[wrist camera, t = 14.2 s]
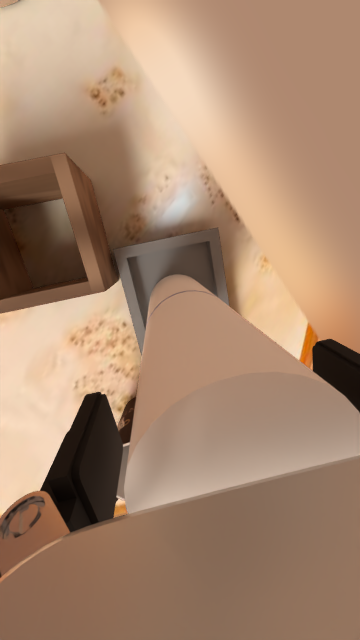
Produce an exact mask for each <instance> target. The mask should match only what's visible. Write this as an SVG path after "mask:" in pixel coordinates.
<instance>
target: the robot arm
mask: <svg viewBox="0 0 360 640" xmlns="http://www.w3.org/2000/svg"><path fill="white" fill-rule="evenodd" d="M17 1H19V0H0V7H5V6H8V5H10V4H13V3H15V2H17ZM312 351H313V372H314V373H316V374H317V375H318V376H320V377H321V378H322V379H323V380H325V381H326V382H327V383H329V384H330V385H331V386H333V387H334V388H335V389H336V390H338V391H339V392H340V393H342V394H343V395H344V396H345V397H346V398H347V399H348V400H349V401H350V402H351V403H352V404H353V406H354V407H355V408H356V409H357V410H358V411H359V413H360V354H359V353H357V352H355V351H353V350H351V349H349V348H347V347H346V346H344V345H342V344H340V343H338V342H336V341H334V340H332V339H327V340H323V341H318V342H316V344H315V346H313V349H312ZM122 455H123V443H122V440H121V437H120V434H119V431H118V428H117V425H116V422H115V420H114V417H113V414H112V411H111V408H110V405H109V402H108V399H107V396H106V395H105V394H101V392H96V393H92V394H87V395H86V396H85V397H84V400H83V402H82V404H81V406H80V409H79V411H78V413H77V415H76V417H75V420H74V422H73V424H72V426H71V429H70V431H69V432H67V434H66V435H65V438H64V440H63V442H62V444H61V446H60V448H59V451H58V453H57V455H56V457H55V459H54V461H53V464H52V466H51V468H50V470H49V472H48V474H47V477H46V479H45V481H44V483H43V485H42V487H41V490H40V491H35V492H32V493H29V494H27V495H25V496H23V497H22V498H20V499H19V500H17V501H16V502H15V503H14V504H12V505H11V506H10V507H9V508H8V509H7V510H6V512H5V513H4V514H3V515H2V516H1V518H0V640H360V455H358V456H354V457H350V458H346V459H342V460H338V461H333V462H329V463H325V464H321V465H317V466H313V467H309V468H305V469H301V470H297V471H293V472H289V473H285V474H281V475H277V476H273V477H269V478H265V479H261V480H257V481H253V482H249V483H245V484H241V485H237V486H233V487H229V488H225V489H221V490H217V491H213V492H210V493H206V494H202V495H198V496H194V497H190V498H186V499H182V500H178V501H174V502H171V503H167V504H163V505H159V506H155V507H152V508H148V509H144V510H141V511H137V512H133V513H130V514H126V515H123V516H119V517H115V518H113V517H114V510H115V503H116V496H117V489H118V483H119V476H120V469H121V462H122Z"/></svg>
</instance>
